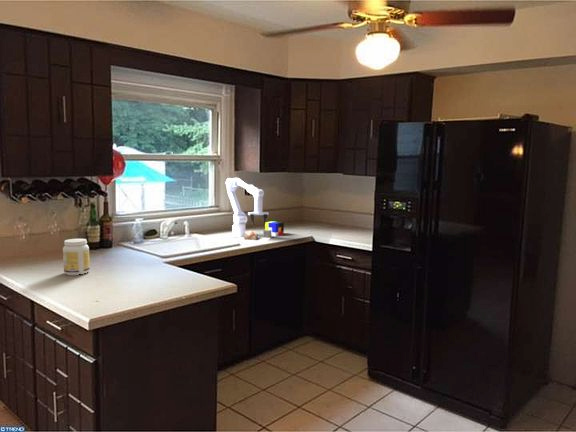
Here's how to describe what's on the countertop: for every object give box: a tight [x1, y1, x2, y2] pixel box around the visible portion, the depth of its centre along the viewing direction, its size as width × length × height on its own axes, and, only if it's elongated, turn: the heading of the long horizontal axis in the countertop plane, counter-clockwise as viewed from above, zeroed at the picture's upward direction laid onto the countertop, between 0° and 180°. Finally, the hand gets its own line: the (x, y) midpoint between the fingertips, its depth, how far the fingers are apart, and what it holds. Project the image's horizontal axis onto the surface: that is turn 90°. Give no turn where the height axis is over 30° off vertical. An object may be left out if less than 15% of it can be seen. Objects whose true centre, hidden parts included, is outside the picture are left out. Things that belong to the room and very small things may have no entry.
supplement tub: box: [62, 238, 91, 276], centre depth 237 cm, size 12×12×17 cm
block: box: [262, 229, 272, 239], centre depth 345 cm, size 5×5×5 cm
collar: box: [243, 233, 259, 241], centre depth 338 cm, size 8×8×3 cm
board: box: [259, 237, 271, 242], centre depth 338 cm, size 8×20×1 cm, turn 172°
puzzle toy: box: [264, 220, 285, 237], centre depth 357 cm, size 10×10×10 cm
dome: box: [247, 230, 256, 236], centre depth 338 cm, size 5×5×4 cm
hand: (258, 225), depth 340 cm, fingers open, 7 cm apart
